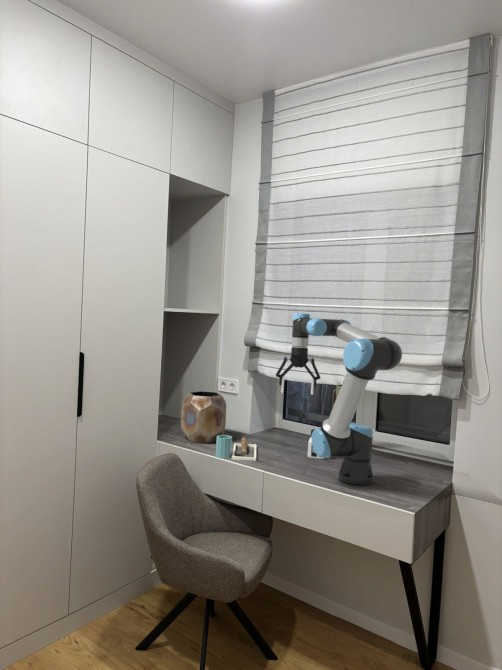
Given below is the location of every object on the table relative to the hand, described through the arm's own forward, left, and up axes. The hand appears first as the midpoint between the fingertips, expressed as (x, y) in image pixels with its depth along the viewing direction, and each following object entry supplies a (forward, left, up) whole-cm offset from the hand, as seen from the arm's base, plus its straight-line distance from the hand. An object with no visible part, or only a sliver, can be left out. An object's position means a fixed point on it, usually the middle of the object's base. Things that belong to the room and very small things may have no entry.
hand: (297, 393), depth 236 cm
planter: (+32, +45, -32) cm, 64 cm away
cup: (-1, +32, -32) cm, 45 cm away
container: (+12, -12, -32) cm, 36 cm away
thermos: (+29, -26, -32) cm, 50 cm away
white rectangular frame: (+7, +23, -32) cm, 39 cm away
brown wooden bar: (+4, +23, -31) cm, 39 cm away
